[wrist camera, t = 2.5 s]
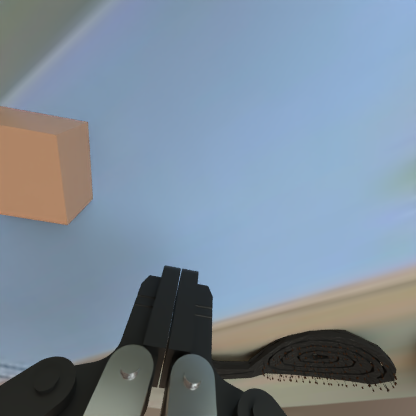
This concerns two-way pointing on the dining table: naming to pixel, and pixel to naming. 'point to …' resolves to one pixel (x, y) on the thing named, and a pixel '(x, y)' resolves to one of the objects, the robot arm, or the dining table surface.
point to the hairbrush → (316, 359)
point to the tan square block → (43, 166)
